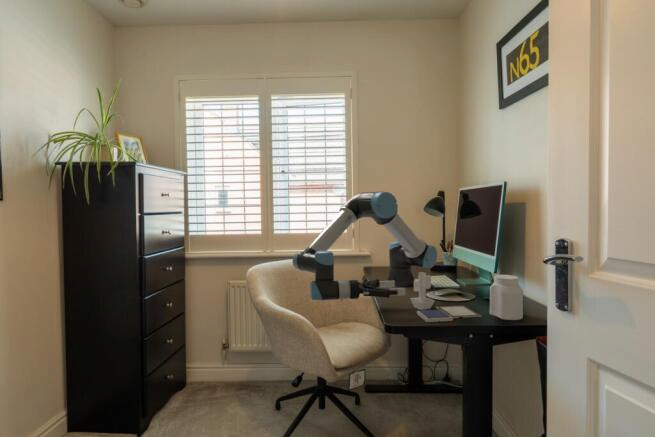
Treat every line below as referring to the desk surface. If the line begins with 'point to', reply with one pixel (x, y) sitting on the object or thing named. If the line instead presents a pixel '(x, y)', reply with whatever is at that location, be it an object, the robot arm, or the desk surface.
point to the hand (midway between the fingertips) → (399, 287)
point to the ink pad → (434, 315)
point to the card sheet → (458, 311)
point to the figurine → (422, 292)
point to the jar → (506, 298)
